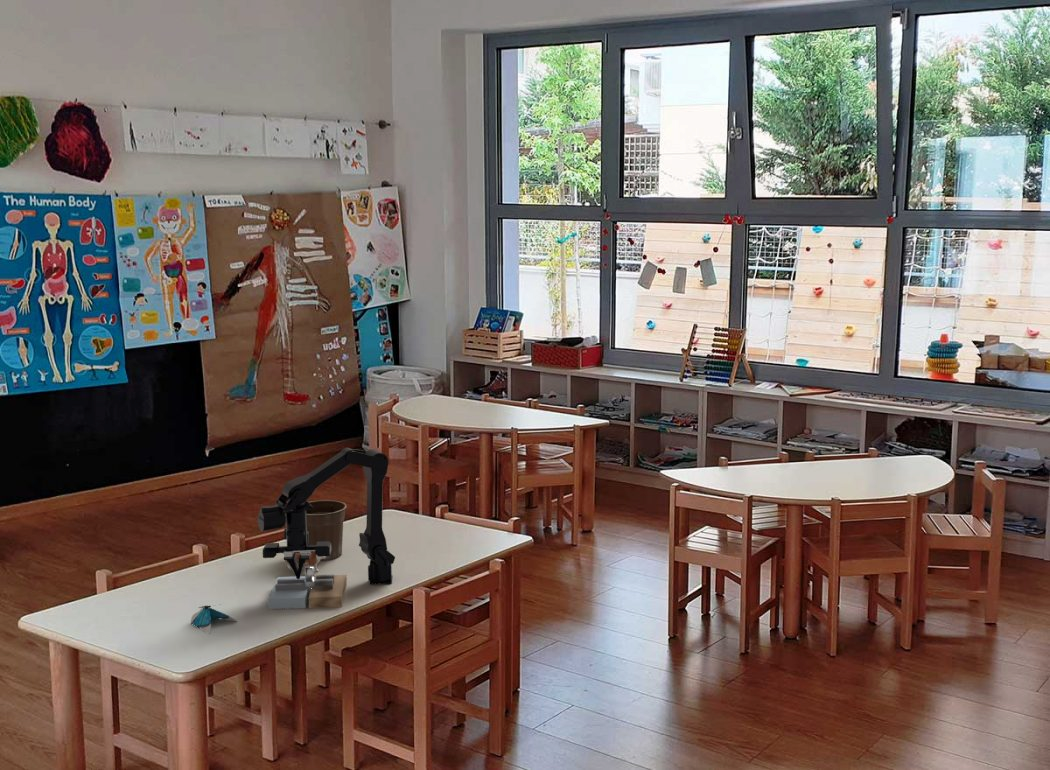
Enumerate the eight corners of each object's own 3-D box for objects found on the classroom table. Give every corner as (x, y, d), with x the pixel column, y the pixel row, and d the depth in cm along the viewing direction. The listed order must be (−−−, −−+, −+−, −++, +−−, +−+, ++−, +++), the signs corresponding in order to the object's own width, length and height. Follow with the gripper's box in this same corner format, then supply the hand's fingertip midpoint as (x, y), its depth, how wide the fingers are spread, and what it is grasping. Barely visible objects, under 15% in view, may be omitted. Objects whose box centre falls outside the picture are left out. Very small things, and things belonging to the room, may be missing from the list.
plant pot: (311, 567, 335) (309, 517, 333) (287, 554, 348) (285, 506, 345) (357, 556, 345) (355, 507, 343) (332, 544, 358) (330, 497, 355)
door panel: (312, 585, 319) (311, 570, 318) (305, 608, 301) (304, 592, 301) (278, 586, 318) (277, 571, 318) (268, 609, 301) (268, 593, 300)
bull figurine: (325, 576, 327) (324, 550, 326) (283, 573, 330) (282, 547, 328) (330, 571, 331) (329, 546, 330) (289, 568, 334) (288, 543, 333)
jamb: (346, 584, 320) (346, 567, 319) (341, 606, 302) (341, 588, 301) (316, 585, 319) (315, 568, 318) (309, 607, 301) (308, 589, 301)
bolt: (333, 583, 311) (332, 564, 310) (332, 586, 309) (332, 567, 308) (305, 584, 311) (304, 565, 310) (304, 587, 308) (303, 568, 308)
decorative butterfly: (209, 600, 297) (233, 598, 292) (214, 623, 297) (238, 622, 292) (179, 612, 289) (203, 610, 283) (184, 635, 289) (208, 634, 284)
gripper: (332, 516, 315) (334, 568, 318) (267, 518, 314) (269, 570, 316) (328, 528, 304) (330, 581, 307) (261, 529, 303) (263, 583, 305)
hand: (298, 578), depth 309 cm, fingers closed
